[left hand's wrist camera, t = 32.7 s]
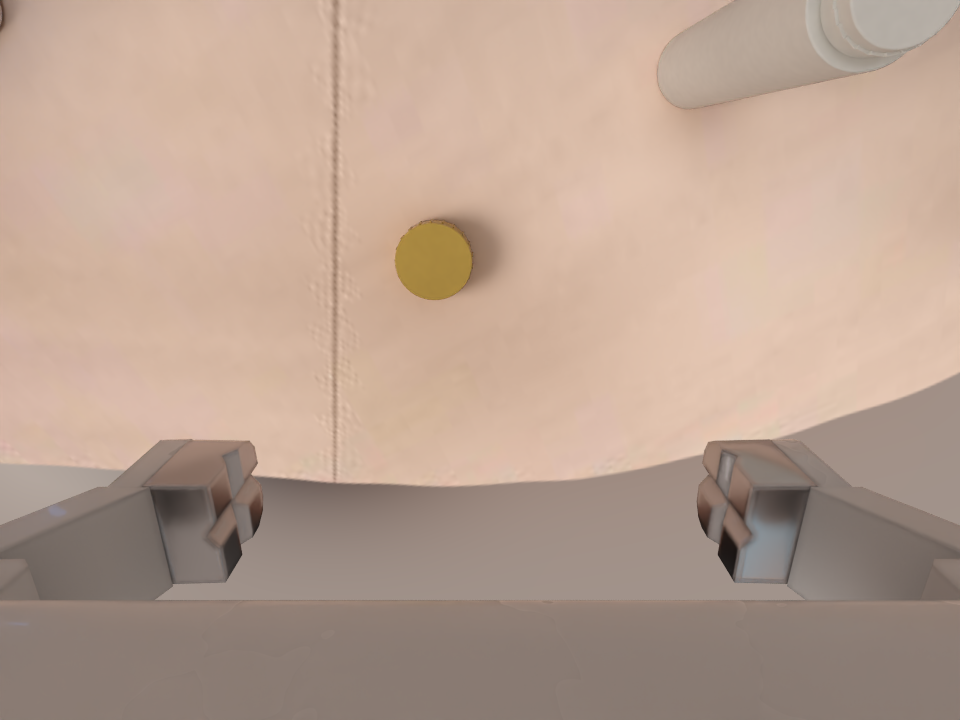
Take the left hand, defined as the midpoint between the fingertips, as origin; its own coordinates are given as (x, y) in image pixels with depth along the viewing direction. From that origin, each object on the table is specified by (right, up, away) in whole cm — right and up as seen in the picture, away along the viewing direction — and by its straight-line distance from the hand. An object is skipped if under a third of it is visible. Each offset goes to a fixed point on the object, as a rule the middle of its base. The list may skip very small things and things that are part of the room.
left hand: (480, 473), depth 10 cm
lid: (-3, +9, +27) cm, 28 cm away
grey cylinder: (+13, +20, +24) cm, 34 cm away
